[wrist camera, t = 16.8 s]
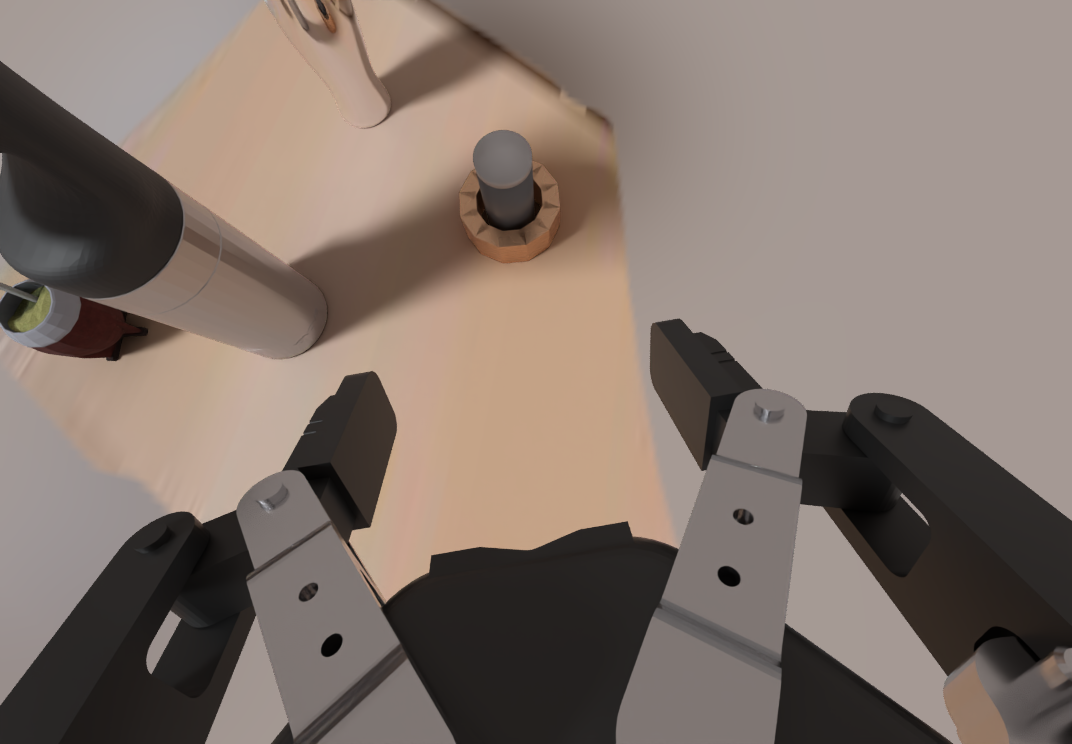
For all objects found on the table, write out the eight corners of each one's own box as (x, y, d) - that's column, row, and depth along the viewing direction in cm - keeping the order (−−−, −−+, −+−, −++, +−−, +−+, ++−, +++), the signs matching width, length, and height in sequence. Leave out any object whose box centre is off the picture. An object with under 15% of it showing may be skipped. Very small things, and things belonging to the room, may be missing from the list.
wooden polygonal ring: (450, 240, 44) (442, 222, 41) (491, 165, 46) (486, 142, 42) (534, 276, 43) (532, 261, 40) (573, 198, 45) (575, 177, 41)
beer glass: (402, 85, 48) (337, -75, 33) (385, 136, 47) (310, -7, 32) (346, 76, 49) (258, -86, 34) (328, 126, 47) (228, -20, 33)
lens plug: (480, 229, 44) (462, 168, 34) (502, 192, 45) (490, 121, 35) (521, 249, 44) (514, 192, 34) (542, 210, 44) (542, 144, 35)
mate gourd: (145, 364, 43) (-68, 319, 28) (73, 365, 43) (-177, 321, 28) (157, 296, 44) (-40, 220, 29) (87, 298, 44) (-144, 222, 30)
